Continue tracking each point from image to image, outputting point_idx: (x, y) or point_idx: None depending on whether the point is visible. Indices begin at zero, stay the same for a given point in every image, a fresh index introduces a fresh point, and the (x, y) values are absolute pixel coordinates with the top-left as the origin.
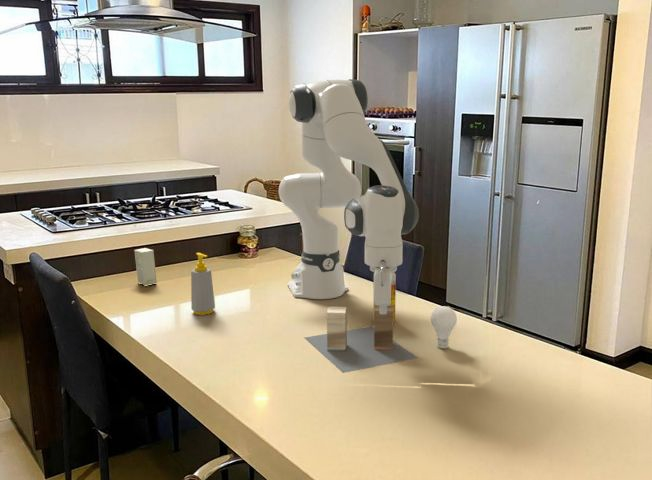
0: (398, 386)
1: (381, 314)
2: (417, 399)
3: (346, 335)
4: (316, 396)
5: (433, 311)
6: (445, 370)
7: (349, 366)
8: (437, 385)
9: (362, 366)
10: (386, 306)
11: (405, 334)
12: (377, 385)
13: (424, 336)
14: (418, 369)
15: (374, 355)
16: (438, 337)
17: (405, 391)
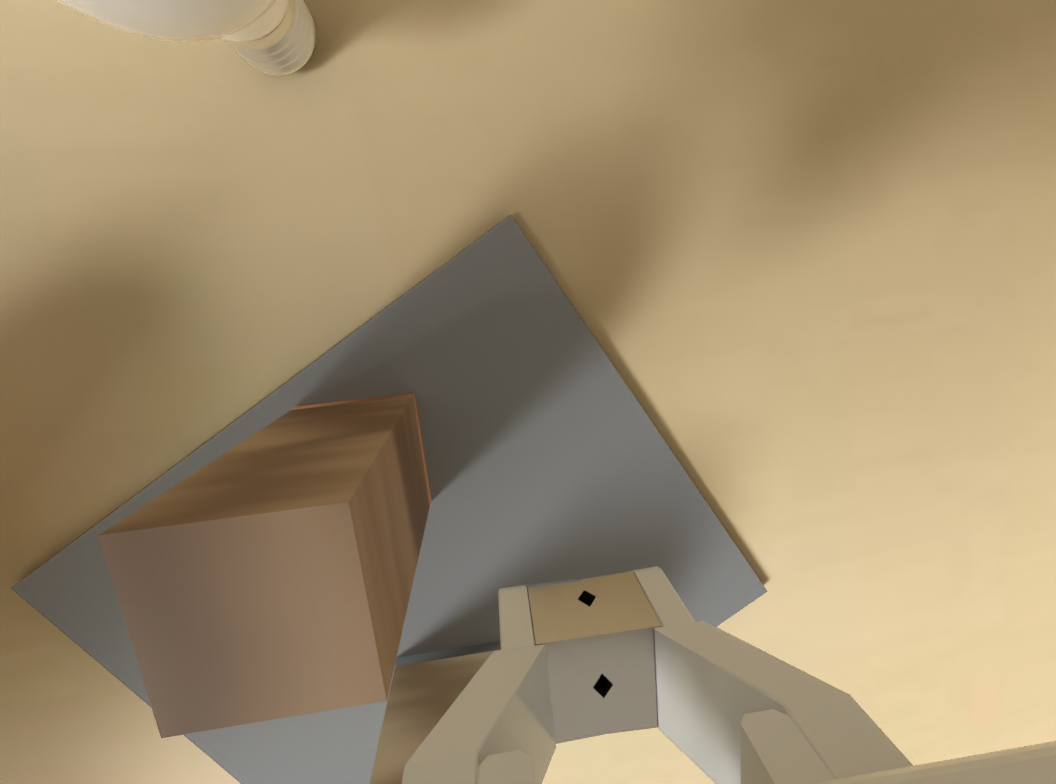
0: (879, 301)
1: (381, 602)
2: (1016, 190)
3: (413, 708)
4: (977, 633)
5: None
6: (654, 25)
7: (692, 578)
8: (861, 81)
9: (685, 517)
10: (723, 636)
11: (71, 340)
12: (871, 406)
13: (61, 193)
14: (660, 206)
15: (527, 483)
16: (274, 28)
17: (932, 259)
